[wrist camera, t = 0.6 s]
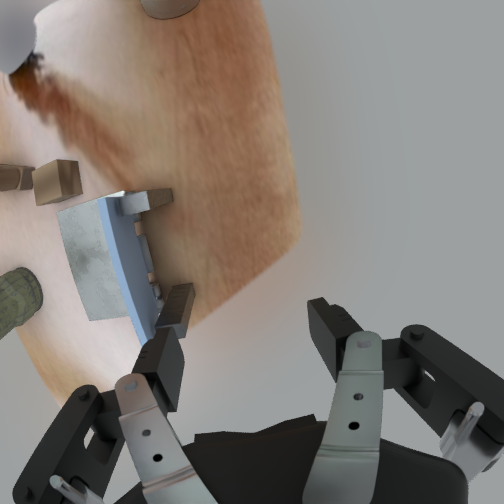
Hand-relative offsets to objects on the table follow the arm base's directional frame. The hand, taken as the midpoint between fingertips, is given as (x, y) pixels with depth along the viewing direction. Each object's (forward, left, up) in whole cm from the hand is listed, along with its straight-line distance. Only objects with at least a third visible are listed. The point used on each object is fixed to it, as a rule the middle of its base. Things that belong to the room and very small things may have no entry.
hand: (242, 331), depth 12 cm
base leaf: (0, -16, -26) cm, 30 cm away
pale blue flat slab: (0, -12, -17) cm, 21 cm away
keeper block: (-13, -23, -26) cm, 37 cm away
